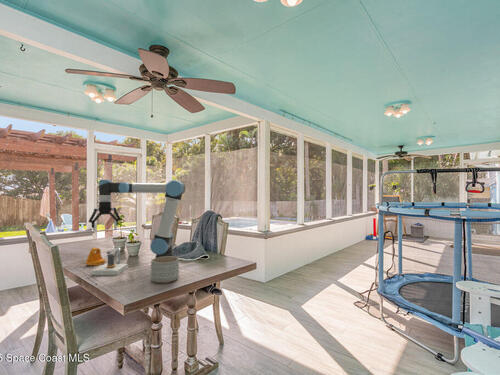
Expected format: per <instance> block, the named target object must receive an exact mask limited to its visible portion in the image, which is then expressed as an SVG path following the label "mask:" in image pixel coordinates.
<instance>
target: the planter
mask: <svg viewBox="0 0 500 375" xmlns="http://www.w3.org/2000/svg"><path fill="white" fill-rule="evenodd" d="M173 256H174V255H173ZM173 256H165V257H158V258H155V257H154V258H152V259H151V260H150V261H151V262H150V263H151V265H150V269H151V270H150V279H151V281H152V282H154V283H156V284H168V283H169V282H170V283H173V282H175V281H176V280H178V279H179V277H180V276H179V275H180V273H179V271H180V270H179V268H180V258H179V257H177V256H174V257H173ZM172 281H173V282H172ZM170 283H169V284H170Z"/></svg>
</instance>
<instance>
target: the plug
mask: <svg viewBox="0 0 500 375" xmlns="http://www.w3.org/2000/svg"><path fill="white" fill-rule="evenodd" d="M106 256H107V264H108V265H107V267H108V268H114V266H115V264H116V263H115V257H116V254H115V253H110V254H107V255H106Z"/></svg>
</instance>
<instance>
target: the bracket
mask: <svg viewBox="0 0 500 375" xmlns="http://www.w3.org/2000/svg"><path fill="white" fill-rule="evenodd" d="M101 252H102V251H101V249H100V248H97V247H92V248H91V249H90V250H89V253H88V256H87V259H86V261H85V264H86V265H88V266H93V265H94V267H96V266H101V265H103V264H106V259H104V258H103V257H102V255H101ZM100 264H101V265H100ZM95 265H96V266H95Z"/></svg>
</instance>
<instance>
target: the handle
mask: <svg viewBox="0 0 500 375" xmlns="http://www.w3.org/2000/svg"><path fill="white" fill-rule="evenodd" d="M114 252H115V253H116V254H115V262H116V263H115V264H121V263H120V261H121V246H117V247H115V248H113V249H111V250H109V251H106V254H107V255H108V254H113V253H114Z"/></svg>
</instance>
